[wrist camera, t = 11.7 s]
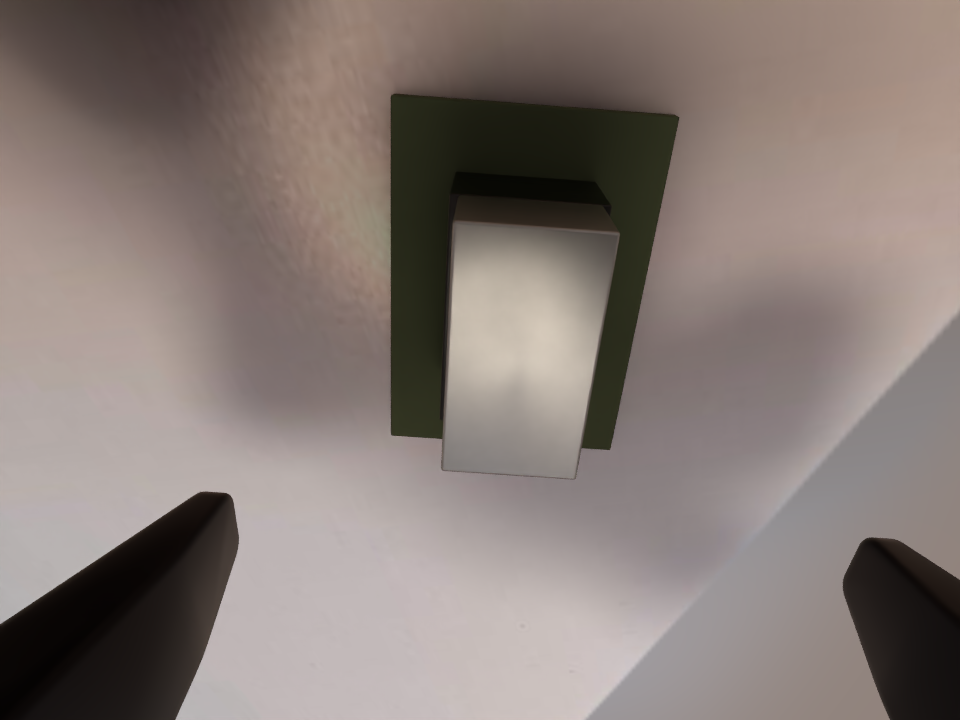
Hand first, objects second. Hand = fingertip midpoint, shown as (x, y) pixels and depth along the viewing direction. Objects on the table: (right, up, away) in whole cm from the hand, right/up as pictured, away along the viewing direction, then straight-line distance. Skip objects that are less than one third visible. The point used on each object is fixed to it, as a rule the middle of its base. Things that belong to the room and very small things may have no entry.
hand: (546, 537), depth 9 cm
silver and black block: (0, +5, +8) cm, 9 cm away
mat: (0, +4, +9) cm, 10 cm away
